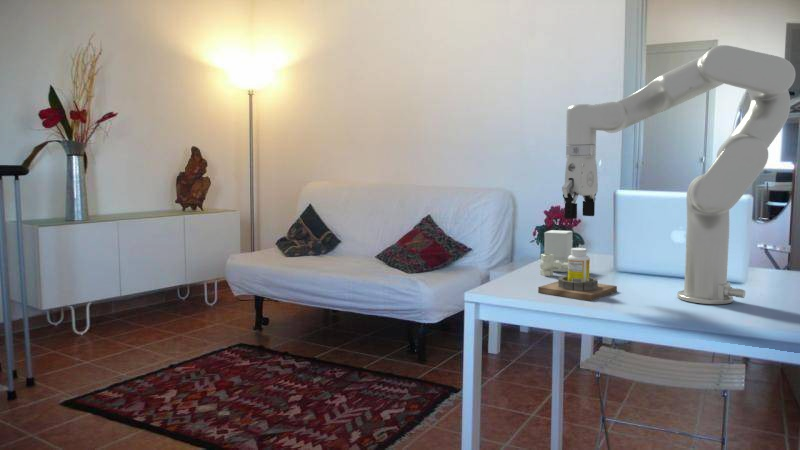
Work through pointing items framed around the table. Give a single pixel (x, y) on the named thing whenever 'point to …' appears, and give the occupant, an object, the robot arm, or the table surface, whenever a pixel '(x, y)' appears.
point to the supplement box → (558, 246)
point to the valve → (550, 265)
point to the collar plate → (576, 292)
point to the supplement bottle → (578, 265)
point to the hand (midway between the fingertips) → (579, 217)
